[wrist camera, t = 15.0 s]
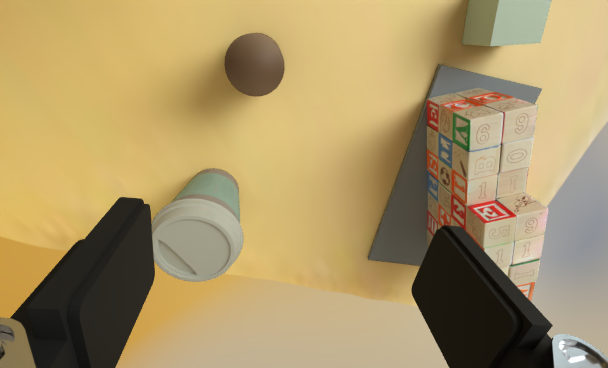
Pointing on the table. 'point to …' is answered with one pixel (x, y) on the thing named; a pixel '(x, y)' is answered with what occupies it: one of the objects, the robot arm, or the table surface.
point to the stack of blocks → (486, 178)
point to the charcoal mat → (413, 174)
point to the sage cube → (505, 22)
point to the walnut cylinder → (254, 64)
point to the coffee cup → (199, 228)
